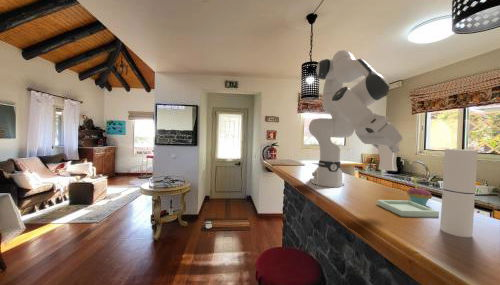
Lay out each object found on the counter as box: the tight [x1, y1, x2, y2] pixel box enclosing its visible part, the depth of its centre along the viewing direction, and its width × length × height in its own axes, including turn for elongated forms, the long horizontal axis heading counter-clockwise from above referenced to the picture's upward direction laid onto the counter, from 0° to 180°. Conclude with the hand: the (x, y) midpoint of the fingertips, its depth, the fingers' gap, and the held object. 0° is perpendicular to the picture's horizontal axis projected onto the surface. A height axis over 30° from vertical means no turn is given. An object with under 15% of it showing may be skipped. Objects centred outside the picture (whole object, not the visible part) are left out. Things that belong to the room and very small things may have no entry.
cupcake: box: [406, 177, 433, 207], centre depth 97 cm, size 9×8×12 cm
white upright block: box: [377, 129, 400, 172], centre depth 85 cm, size 7×7×15 cm
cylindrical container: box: [439, 148, 479, 238], centre depth 67 cm, size 7×7×25 cm
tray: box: [376, 199, 440, 218], centre depth 87 cm, size 14×14×2 cm
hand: (389, 150), depth 85 cm, fingers closed on white upright block, 6 cm apart
